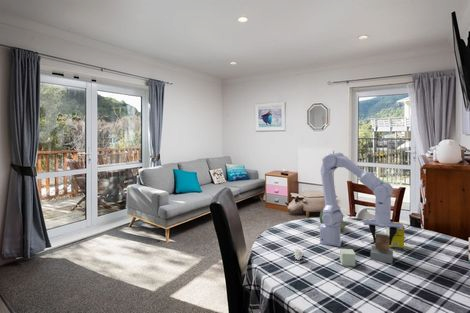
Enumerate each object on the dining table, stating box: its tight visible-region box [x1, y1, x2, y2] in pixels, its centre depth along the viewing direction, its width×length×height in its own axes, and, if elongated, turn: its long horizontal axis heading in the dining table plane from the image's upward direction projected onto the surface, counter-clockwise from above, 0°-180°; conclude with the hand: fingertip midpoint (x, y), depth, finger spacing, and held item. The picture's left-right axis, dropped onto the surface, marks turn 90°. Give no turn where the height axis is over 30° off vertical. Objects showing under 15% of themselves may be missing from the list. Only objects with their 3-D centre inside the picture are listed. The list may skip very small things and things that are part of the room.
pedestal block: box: [370, 245, 394, 265], centre depth 116 cm, size 8×8×4 cm
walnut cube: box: [374, 233, 390, 251], centre depth 115 cm, size 5×5×5 cm
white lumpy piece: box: [293, 248, 304, 261], centre depth 116 cm, size 9×8×4 cm
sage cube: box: [339, 248, 356, 267], centre depth 111 cm, size 5×5×5 cm
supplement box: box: [385, 221, 405, 250], centre depth 127 cm, size 6×6×11 cm
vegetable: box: [319, 209, 347, 230], centre depth 154 cm, size 12×13×15 cm
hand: (382, 243), depth 115 cm, fingers closed on walnut cube, 5 cm apart
